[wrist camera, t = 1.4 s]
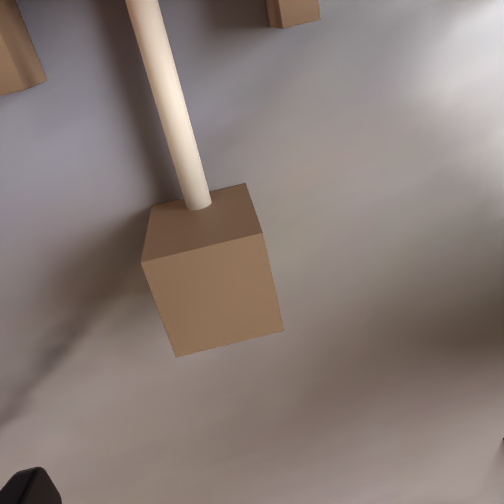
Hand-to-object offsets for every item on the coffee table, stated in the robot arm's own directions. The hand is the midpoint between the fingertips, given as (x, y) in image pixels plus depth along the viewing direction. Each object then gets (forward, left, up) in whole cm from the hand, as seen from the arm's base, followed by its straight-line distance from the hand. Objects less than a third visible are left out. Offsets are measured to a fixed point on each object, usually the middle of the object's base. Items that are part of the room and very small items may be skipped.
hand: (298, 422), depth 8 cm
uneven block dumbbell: (+5, +1, -12) cm, 14 cm away
